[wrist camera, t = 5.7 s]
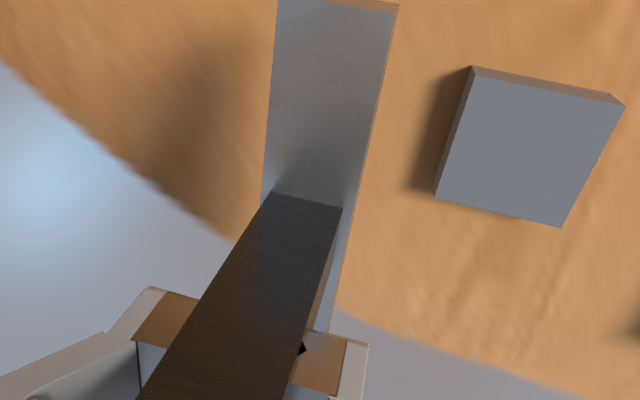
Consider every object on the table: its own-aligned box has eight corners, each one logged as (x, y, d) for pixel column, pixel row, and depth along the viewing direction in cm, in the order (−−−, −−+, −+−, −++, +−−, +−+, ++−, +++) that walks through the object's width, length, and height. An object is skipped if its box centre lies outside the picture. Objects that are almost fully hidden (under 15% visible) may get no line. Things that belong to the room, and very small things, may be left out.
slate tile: (471, 63, 23) (475, 75, 21) (607, 91, 23) (626, 106, 21) (433, 178, 27) (433, 198, 25) (550, 205, 26) (561, 228, 24)
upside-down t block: (301, -14, 13) (-34, 75, 4) (400, 4, 13) (325, 155, 3) (264, 317, 21) (117, 653, 11) (327, 334, 20) (235, 696, 10)
